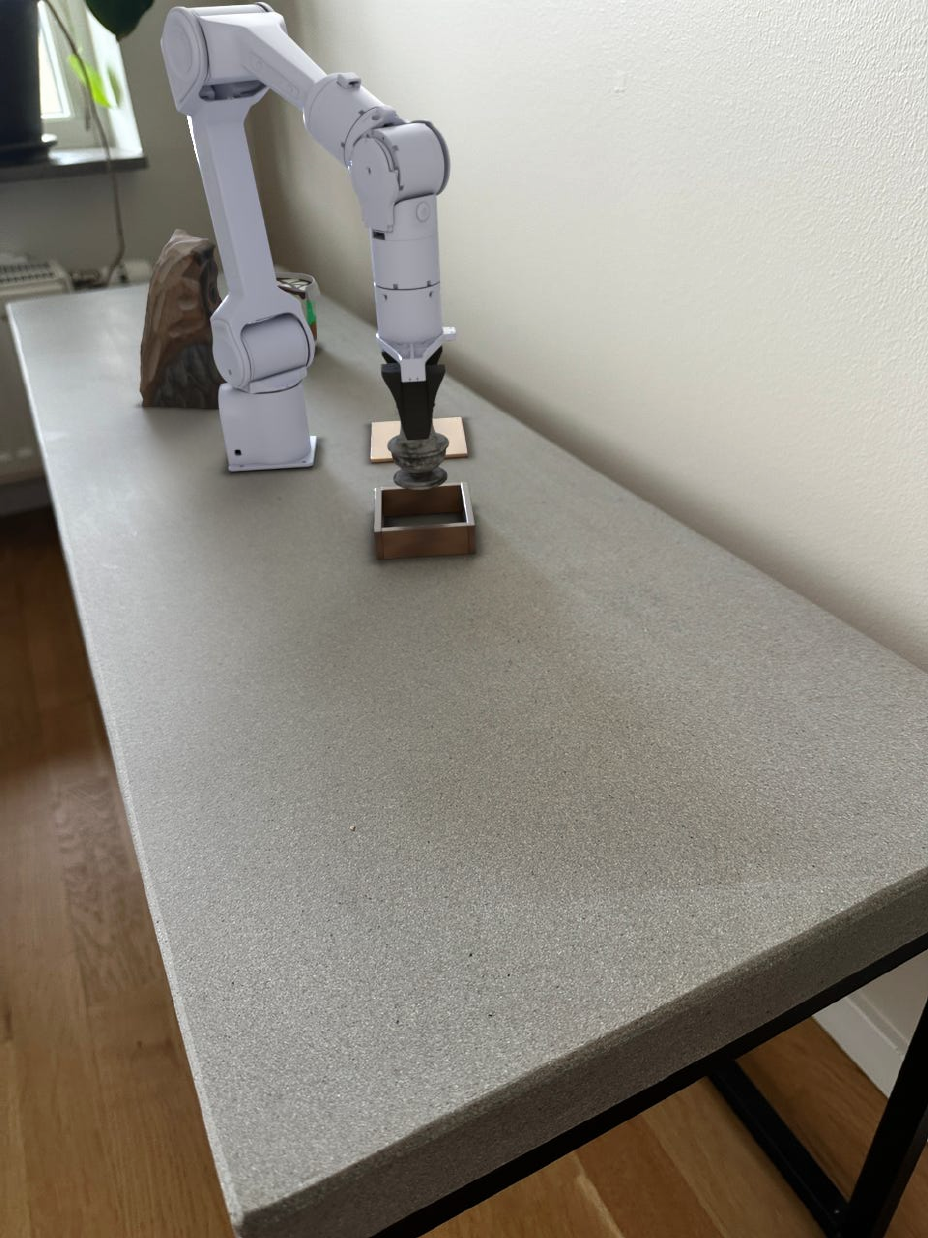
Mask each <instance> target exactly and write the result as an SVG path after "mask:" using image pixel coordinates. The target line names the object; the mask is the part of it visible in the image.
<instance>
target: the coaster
mask: <svg viewBox="0 0 928 1238" xmlns="http://www.w3.org/2000/svg"><path fill="white" fill-rule="evenodd" d="M433 426H434V430H435V432H436V433H440V434H442V435H444V436H445V437H447V438H448V440H449V446H448V447H447V449H446V455H445V457H444V459H445V458H463V457H468V456H469V454H468V453H469V452H468V447H467V442H466V435H465V429H464V424H463V418H462V416H455V417H454V416H453V417H437V418H433ZM400 428H401V422H400V420H389V421H375V422H373V421H372V422H371V442H370V463H382V462H383V463H384V462H394V460H393V458H392V455H391V452H390V451H389V450H388V447H387V444H388V442H389V441H390V440H391V439H392V438H393V437H395V436H397V435H399V434H400Z"/></svg>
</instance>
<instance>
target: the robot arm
mask: <svg viewBox="0 0 928 1238" xmlns="http://www.w3.org/2000/svg"><path fill="white" fill-rule="evenodd" d="M160 46H161V47H160V49H161V53H162V57H163V61H164V66H165V70H166V75H167V78H168V82H169V87H170V91H171V94H172V97H173V100H174V105H175V109H176V111H177V112H179V113H181V115H184V116H186V117H187V120H188V125H189V129H190V134H191V138H192V141H193V145H194V151H195V154H196V159H197V162H198V163H197V164H198V167H199V168H198V169H199V172H200V175H201V179H202V184H203V185H202V186H203V188H204V193H205V198H206V201H207V205H208V210H209V215H210V218H211V222H212V227H213V232H214V235H215V240H216V244H217V248H218V253H219V257H220V261H221V265H222V270H223V273H224V278H225V282H226V287H227V290H228V294H227V295H226V297H225V298H224V299H223V300H222V303H221V304H220V306H219V307H218V308H217V309H216V311H215V312H214V313H213V315H212V316H211V318H210V321H211V327H212V334H213V356H214V360H215V363H216V366H217V369H218V371H219V372H220V374H221V376H222V377H223V378H224V380H225V381H226V382H228V383H226V384H221V385H220V387H219V395H218V401H219V408H218V410H219V412H218V413H219V418H220V424H221V431H222V434H223V435H222V436H223V440H224V441H223V442H224V446H225V451H226V457H227V462H228V471H229V472H243V471H244V472H245V471H260V470H276V469H292V468H294V469H295V468H307V467H312V466H313V465H314V463H315V456H316V449H317V444H318V443H317V442H318V437H317V435H310V428H309V427H310V426H309V420H308V413H307V406H306V398H305V397H306V396H305V391H304V385H303V384H304V383H303V379H304V378H307V377H308V369H307V368H309V367H310V366H311V365H312V364H313V361H314V357H315V353H316V352H315V343H314V338H313V335H312V332H311V329H310V327H309V326H308V324H307V322H306V319H305V317H304V314H303V311H302V306H301V302H300V301H299V300H297V299H296V298H295V297H293V296H291V295H290V294H288V293H286V292H284V291H283V290H281V289H280V288H279V287H278V286H277V281H276V276H275V273H276V271H275V268H274V263H273V258H272V253H271V249H270V244H269V239H268V234H267V229H266V225H265V219H264V216H263V210H262V206H261V201H260V197H259V191H258V187H257V182H256V178H255V172H254V168H253V164H252V159H251V154H250V149H249V145H248V139H247V135H246V131H245V124H244V123H245V119H246V117H247V115H248V113H249V111H250V109H251V107H252V106H254V105H256V104H257V103H259V102H260V100H261V99H262V98H263V97H264V96H265V94H266V93H267V92H268V91H269V90H272V92H274V93H276V94H277V95H279V96H280V97H281V98H283V99H285V101H287V102H289V103H290V104H291V105H293V106H295V108H297V109H298V110H300V111H301V112H302V115H303V116H302V117H303V124H304V127H305V130H306V132H307V134H308V135H309V137H311V139H313V140H314V141H315V142H317V144H318V145H320V146H321V147H322V148H323V149H324V150H326V151H327V152H328V153H329V154H330V155H332V156H333V157H334V159H336V160H337V161H338V162H339V163H340V164H342V165H343V167H345V168H346V169H347V170H348V175H349V180H350V183H351V186H352V189H353V191H354V193H355V195H356V197H357V199H358V201H359V205H360V210H361V220H362V221H363V222H364V227H365V228H366V229H368V230H369V241H370V251H371V262H372V263H371V264H372V274H373V285H374V298H375V311H376V321H377V323H376V324H377V332H376V333H375V336H376V337H375V339H376V344H377V346H378V347H379V348H381V349H380V350H381V352H380V353H381V357H382V358H383V359H384V362H385V363H381V364H380V375H381V378H382V380H383V382H384V384H385V385H386V386H387V389H388V390H389V391H390V393H391V395H392V398H393V400H394V402H395V406H396V405H397V408H396V410H397V413H398V416H399V421H400V420H401V424H402V428H403V431H404V434H405V437H406V439H407V440H425V439H429V436H430V432H431V426H432V418H433V419H434V408H435V407H434V403H435V404H436V398H437V394H438V391H439V388H440V386H441V384H442V382H443V380H444V377H445V374H446V364H444V363H443V364H438V363H439V361H440V359H441V355H442V353H443V349H444V348H443V344H444V343H446V342H454V341H456V340H457V330H456V327H454V326H443V325H444V324H443V303H442V282H441V264H440V263H441V262H440V261H441V260H440V242H439V241H440V240H439V222H438V221H439V220H438V219H439V217H438V200H437V196H439V195H441V194H442V193H443V192H444V191H445V190H446V188H447V186H448V184H449V183H448V182H449V180H450V176H451V156H450V151H449V147H448V145H447V141H446V140H445V137H444V136H443V134H442V133H441V132H440V130H439V129H438V128H437V127H436V126H435V125H434V123H433V122H432V120H430V119H426V118H420V119H414V120H411V121H410V120H409V119H407V118H405V119H403V118H402V117H401V116H399V115H398V114H397V111H396V109H394V107H392V106H391V105H390V104H385V103H383V102H382V101H381V100H380V99H379V98H377V97H376V96H375V95H374V94H373V93H371V92H370V91H368V89H367V88H365V87H364V86H362V78H361V77H359V76H358V74H356V73H355V72H353V71H349V72H348V71H347V72H333V73H330V74H327V73H326V72H325V71H324V70H323V69H322V68H321V67H320V66H319V65H318V64H317V63H316V62H314V60H313V59H312V58H311V57H310V56H309V55H308V54H307V53H305V51H304V50H303V49H302V48H301V47H300V46H299V45H298V44H297V43H296V42H295V41H294V40H293V39H292V38H291V37H290V36H289V32H288V29H287V25H286V22H285V19H284V16H283V15H282V14H280V13H278V12H276V11H275V10H274V9H273V8H272V7H271V5H269V4H268V3H266V2H262V1H258V2H253V3H251V4H239V5H220V6H219V5H218V6H201V7H185V6H174V7H173V8H171V9H170V10H169V11H168V13H167V15H166V19H165V22H164V25H163V30H162V34H161V38H160ZM274 315H276V316H274ZM270 316H274V317H270ZM267 317H270V318H267ZM263 318H267V319H263ZM259 319H263V320H259ZM256 320H259V321H256Z"/></svg>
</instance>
